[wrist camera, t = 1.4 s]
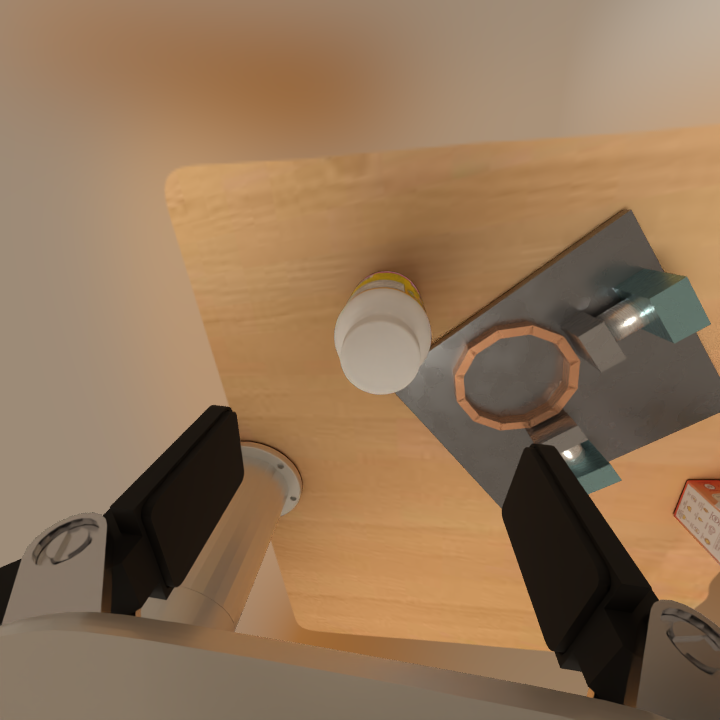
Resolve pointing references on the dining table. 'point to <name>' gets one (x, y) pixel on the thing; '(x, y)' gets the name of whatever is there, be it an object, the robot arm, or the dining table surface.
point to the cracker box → (702, 513)
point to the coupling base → (571, 364)
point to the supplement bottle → (383, 334)
